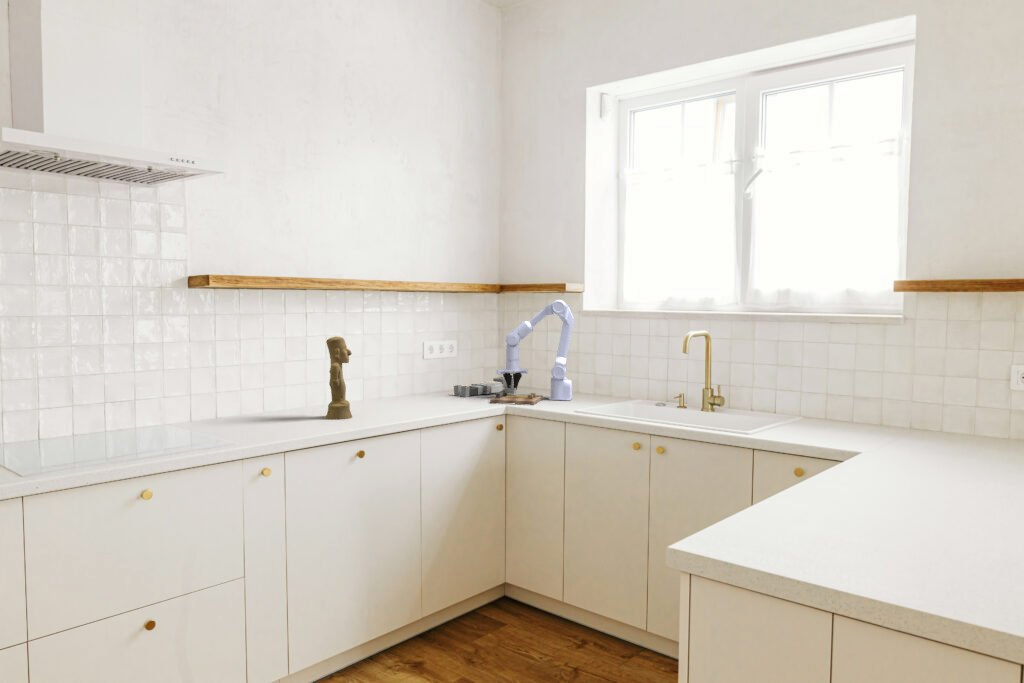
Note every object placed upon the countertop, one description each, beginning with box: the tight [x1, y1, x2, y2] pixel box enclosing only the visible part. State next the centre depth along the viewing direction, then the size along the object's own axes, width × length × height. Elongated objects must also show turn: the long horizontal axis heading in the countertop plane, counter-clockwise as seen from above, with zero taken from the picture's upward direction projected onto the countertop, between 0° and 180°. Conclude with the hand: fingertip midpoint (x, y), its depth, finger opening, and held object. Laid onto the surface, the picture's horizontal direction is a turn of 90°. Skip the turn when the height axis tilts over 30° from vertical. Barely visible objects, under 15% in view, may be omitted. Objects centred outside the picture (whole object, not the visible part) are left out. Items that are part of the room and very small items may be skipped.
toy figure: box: [453, 376, 514, 398], centre depth 346 cm, size 11×7×30 cm
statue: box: [325, 336, 353, 420], centre depth 273 cm, size 11×10×30 cm
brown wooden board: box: [489, 390, 544, 406], centre depth 322 cm, size 19×20×3 cm
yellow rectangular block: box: [506, 394, 528, 398], centre depth 322 cm, size 11×3×1 cm, turn 77°
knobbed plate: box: [504, 386, 517, 395], centre depth 327 cm, size 4×4×3 cm
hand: (512, 389), depth 331 cm, fingers open, 2 cm apart
